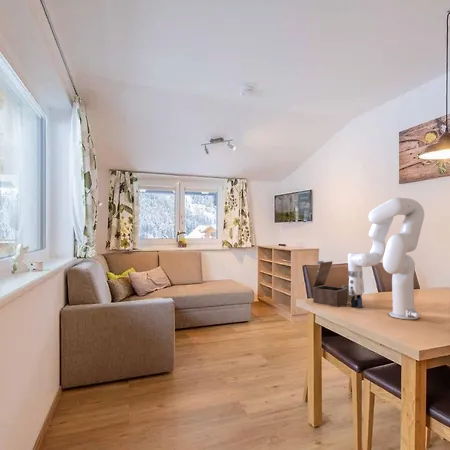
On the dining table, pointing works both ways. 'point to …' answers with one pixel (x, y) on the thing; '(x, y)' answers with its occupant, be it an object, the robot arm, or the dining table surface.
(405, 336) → the dining table surface
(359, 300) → the block
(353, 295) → the flower pot
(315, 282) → the lid
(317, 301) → the chest
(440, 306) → the dining table surface
